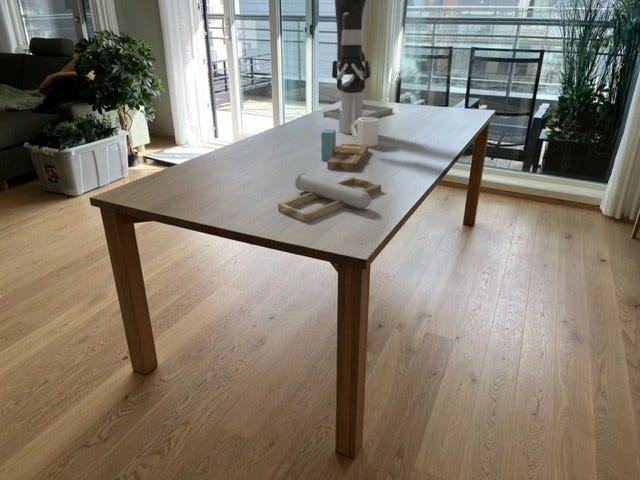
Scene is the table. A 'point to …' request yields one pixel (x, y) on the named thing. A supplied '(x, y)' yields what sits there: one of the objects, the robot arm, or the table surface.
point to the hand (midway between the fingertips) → (350, 90)
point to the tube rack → (287, 205)
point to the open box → (347, 158)
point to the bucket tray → (379, 109)
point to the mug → (366, 131)
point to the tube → (333, 191)
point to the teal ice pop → (332, 145)
